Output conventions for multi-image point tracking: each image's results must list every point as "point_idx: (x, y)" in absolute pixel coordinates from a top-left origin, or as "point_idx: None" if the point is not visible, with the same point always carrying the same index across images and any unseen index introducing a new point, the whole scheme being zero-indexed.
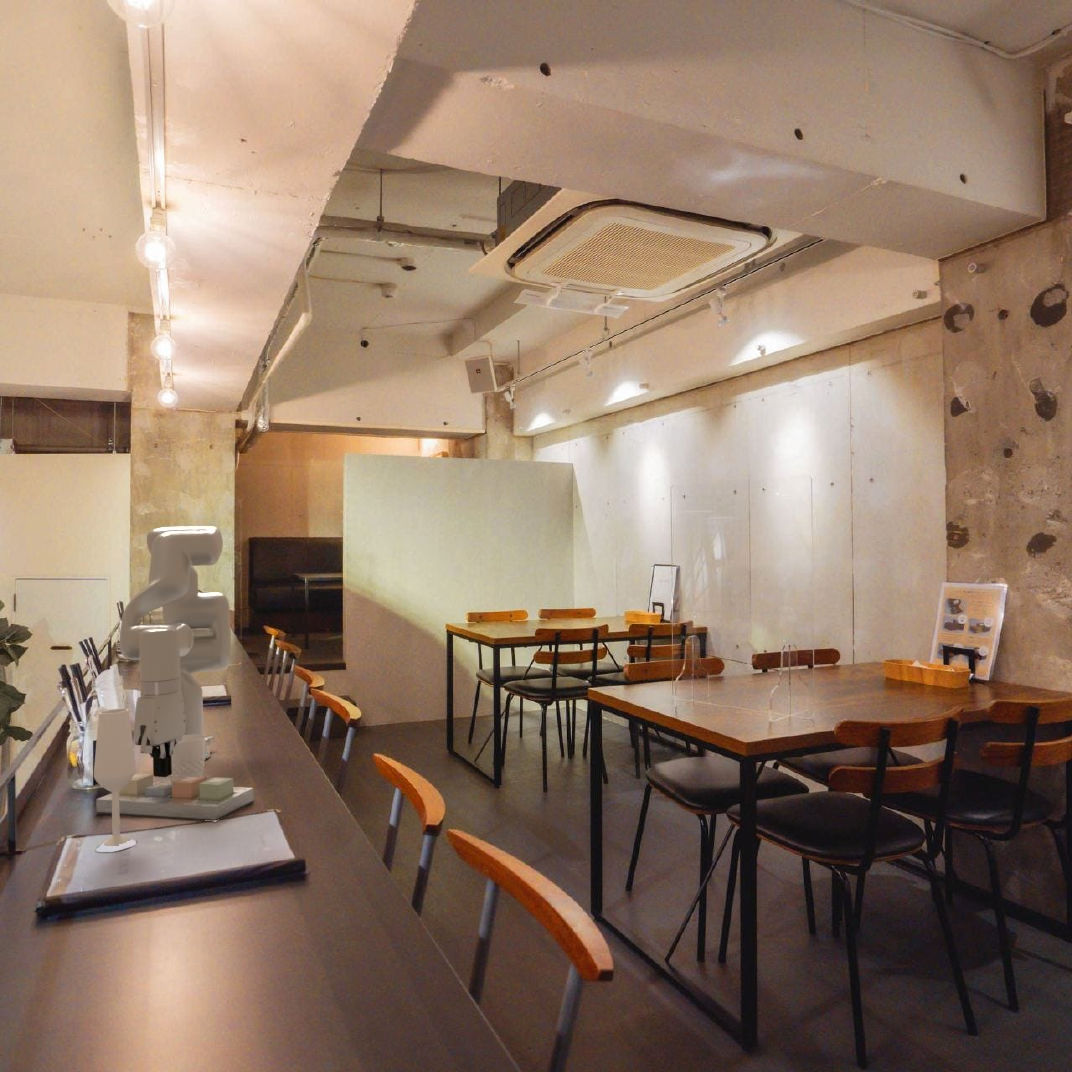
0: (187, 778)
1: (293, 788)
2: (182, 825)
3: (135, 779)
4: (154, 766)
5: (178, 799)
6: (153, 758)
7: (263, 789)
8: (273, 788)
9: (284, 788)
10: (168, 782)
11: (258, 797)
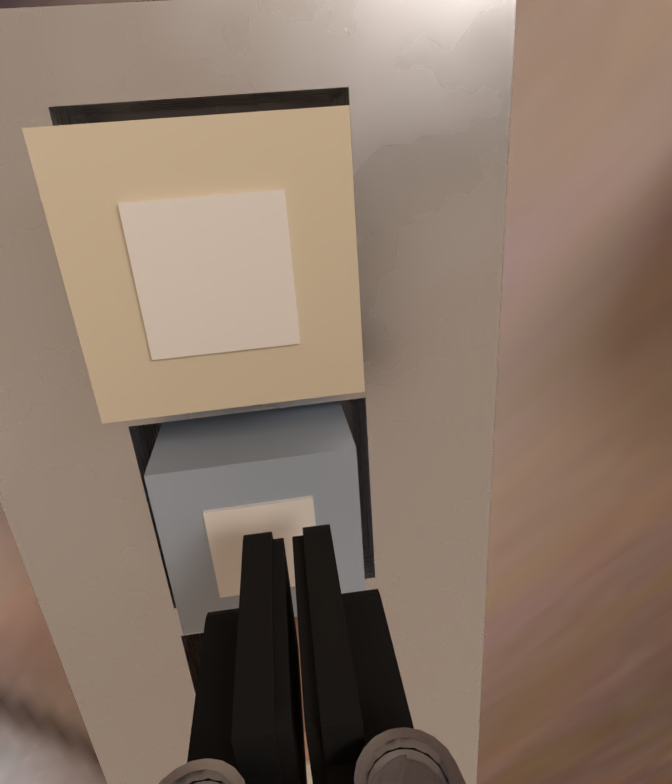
0: (308, 780)
1: (655, 772)
2: (71, 754)
3: (122, 376)
4: (199, 679)
5: (178, 711)
6: (234, 725)
7: (642, 685)
8: (657, 710)
9: (656, 745)
10: (359, 519)
11: (521, 744)
